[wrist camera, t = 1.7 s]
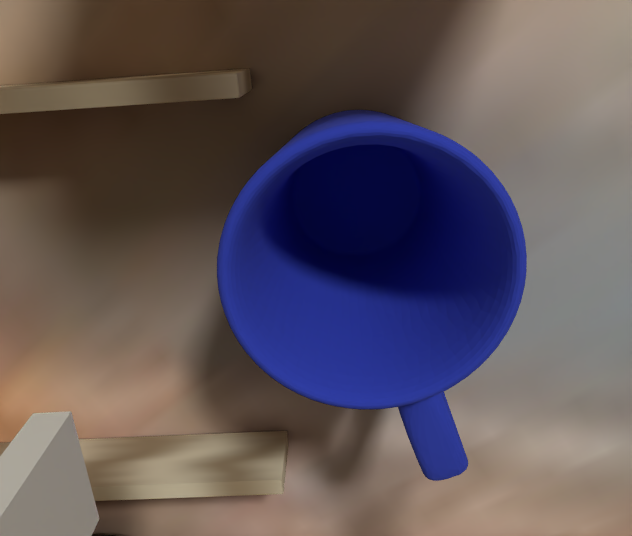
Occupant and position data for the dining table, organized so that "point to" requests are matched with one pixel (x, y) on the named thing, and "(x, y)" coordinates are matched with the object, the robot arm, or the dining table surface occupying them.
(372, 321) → the mug
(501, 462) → the dining table surface
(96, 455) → the channel
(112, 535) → the dark brown vase
